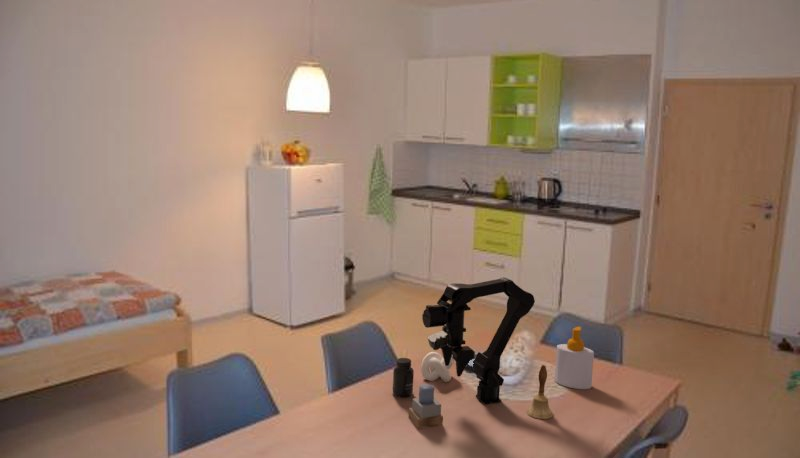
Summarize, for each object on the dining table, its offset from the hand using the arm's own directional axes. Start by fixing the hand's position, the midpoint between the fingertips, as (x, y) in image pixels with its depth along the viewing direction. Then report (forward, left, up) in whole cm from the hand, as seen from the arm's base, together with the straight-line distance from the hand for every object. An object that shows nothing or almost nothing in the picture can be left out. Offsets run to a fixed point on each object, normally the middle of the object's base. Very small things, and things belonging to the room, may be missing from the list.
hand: (452, 370), depth 205 cm
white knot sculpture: (-4, -22, -12) cm, 26 cm away
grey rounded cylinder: (+12, +8, -6) cm, 15 cm away
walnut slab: (+12, +7, -12) cm, 19 cm away
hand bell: (-25, +13, -12) cm, 31 cm away
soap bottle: (-49, -4, -12) cm, 51 cm away
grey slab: (+12, +8, -9) cm, 17 cm away
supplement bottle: (+12, -13, -12) cm, 21 cm away
